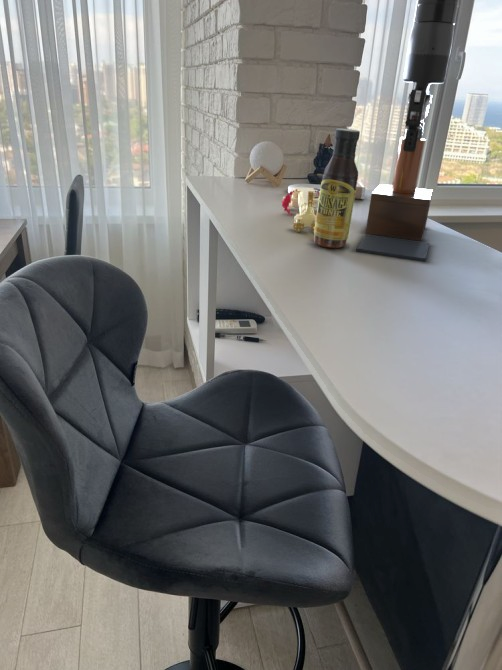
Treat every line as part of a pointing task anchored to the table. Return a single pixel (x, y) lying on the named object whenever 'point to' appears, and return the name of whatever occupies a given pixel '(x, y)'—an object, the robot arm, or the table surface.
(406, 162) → the spice bottle
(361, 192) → the record player
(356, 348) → the table surface
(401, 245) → the mat
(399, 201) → the brown open box
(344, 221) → the sauce bottle
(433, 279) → the table surface
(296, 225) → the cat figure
